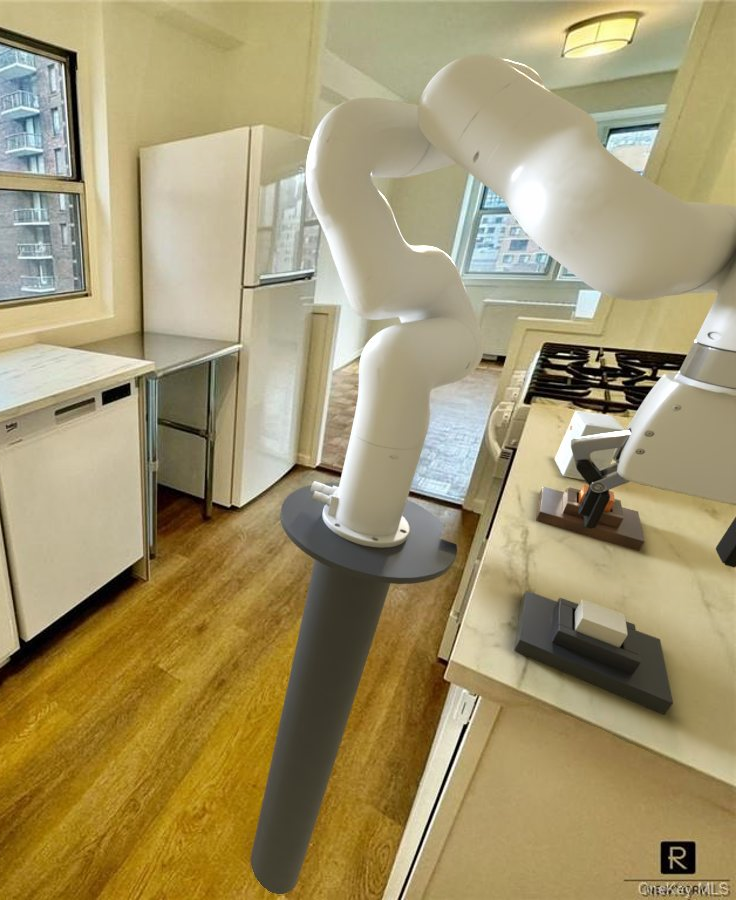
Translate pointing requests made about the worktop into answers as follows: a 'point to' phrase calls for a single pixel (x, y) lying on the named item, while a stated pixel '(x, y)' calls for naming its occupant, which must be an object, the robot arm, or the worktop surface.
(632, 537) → the stepped brown stand
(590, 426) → the small box
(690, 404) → the robot arm
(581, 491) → the key
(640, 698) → the stepped grey stand
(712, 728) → the worktop surface
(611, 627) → the key
